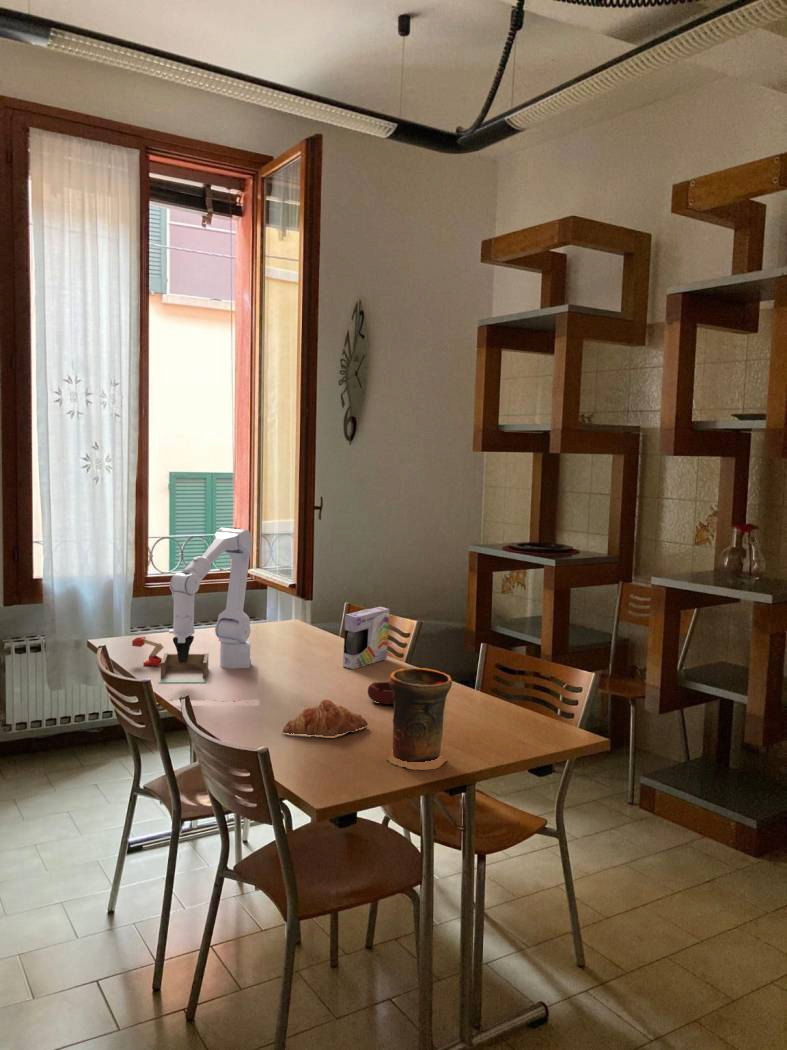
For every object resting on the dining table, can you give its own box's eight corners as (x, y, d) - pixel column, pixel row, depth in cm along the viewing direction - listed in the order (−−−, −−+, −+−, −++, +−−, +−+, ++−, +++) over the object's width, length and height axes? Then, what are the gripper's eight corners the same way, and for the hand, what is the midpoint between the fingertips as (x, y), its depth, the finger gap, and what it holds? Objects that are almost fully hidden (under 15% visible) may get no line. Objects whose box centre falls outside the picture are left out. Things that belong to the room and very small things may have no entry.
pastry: (332, 748, 205) (333, 715, 204) (280, 735, 212) (280, 703, 211) (368, 729, 219) (369, 698, 219) (318, 717, 227) (319, 687, 226)
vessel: (427, 744, 209) (431, 664, 207) (458, 766, 197) (464, 681, 194) (374, 752, 202) (378, 669, 200) (403, 776, 190) (408, 688, 187)
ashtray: (408, 716, 231) (409, 697, 231) (361, 702, 241) (362, 685, 241) (446, 701, 245) (446, 684, 245) (400, 689, 255) (401, 673, 255)
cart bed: (208, 672, 263) (208, 653, 263) (206, 682, 253) (206, 662, 252) (164, 672, 261) (164, 653, 261) (160, 682, 251) (160, 662, 250)
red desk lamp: (174, 672, 263) (175, 641, 262) (131, 669, 264) (131, 638, 263) (178, 669, 266) (179, 638, 265) (135, 666, 267) (136, 636, 266)
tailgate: (206, 678, 253) (205, 682, 248) (206, 682, 253) (205, 686, 248) (160, 678, 250) (158, 682, 246) (160, 682, 251) (158, 686, 246)
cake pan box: (351, 670, 273) (353, 616, 271) (339, 667, 276) (341, 613, 274) (388, 660, 288) (390, 608, 286) (376, 657, 291) (378, 605, 289)
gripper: (171, 609, 252) (171, 655, 253) (166, 620, 238) (166, 668, 239) (196, 610, 253) (195, 655, 254) (193, 620, 239) (192, 668, 240)
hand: (183, 661), depth 247 cm, fingers closed
